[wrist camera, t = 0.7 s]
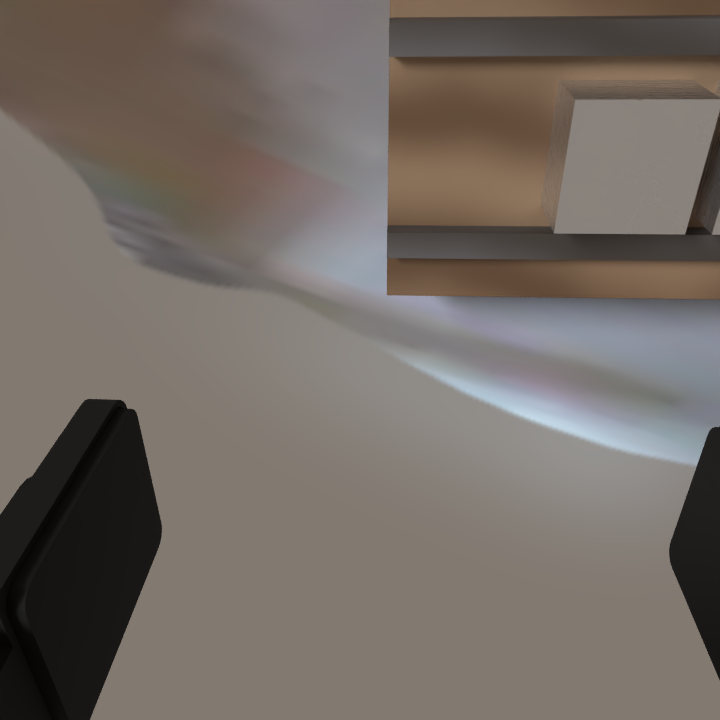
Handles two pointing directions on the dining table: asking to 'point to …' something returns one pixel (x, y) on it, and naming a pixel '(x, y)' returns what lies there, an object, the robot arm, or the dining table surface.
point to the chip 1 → (627, 155)
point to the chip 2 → (710, 185)
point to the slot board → (526, 145)
